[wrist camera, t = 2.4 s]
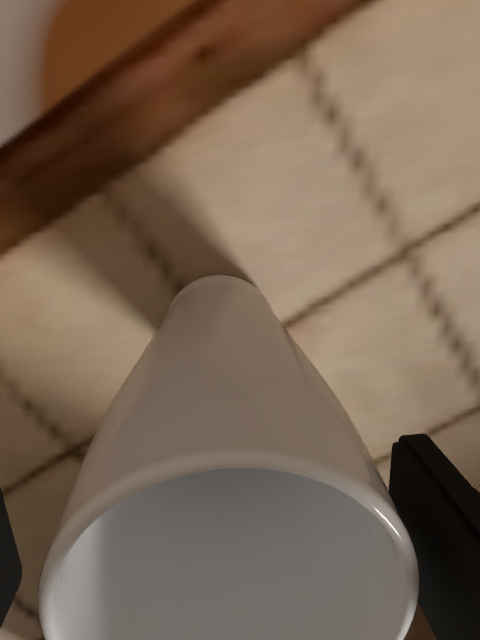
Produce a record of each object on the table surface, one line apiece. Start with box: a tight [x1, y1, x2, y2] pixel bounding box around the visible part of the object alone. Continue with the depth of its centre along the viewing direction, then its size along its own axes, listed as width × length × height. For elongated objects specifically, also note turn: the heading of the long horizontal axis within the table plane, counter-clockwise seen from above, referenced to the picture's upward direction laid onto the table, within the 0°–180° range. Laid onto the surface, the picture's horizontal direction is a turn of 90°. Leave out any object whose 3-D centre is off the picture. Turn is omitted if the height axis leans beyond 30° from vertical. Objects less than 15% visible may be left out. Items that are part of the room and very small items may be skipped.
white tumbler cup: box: [38, 275, 419, 640], centre depth 14 cm, size 7×7×15 cm
